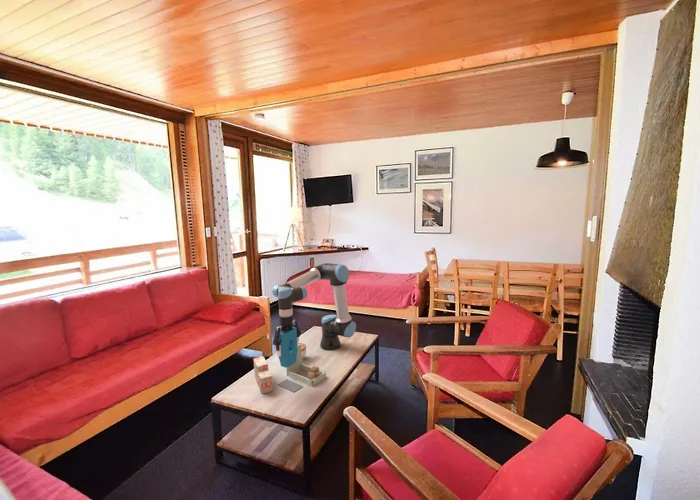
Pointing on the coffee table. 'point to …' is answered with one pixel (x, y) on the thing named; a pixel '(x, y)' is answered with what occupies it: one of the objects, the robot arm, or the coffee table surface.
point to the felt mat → (290, 385)
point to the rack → (299, 365)
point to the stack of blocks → (262, 375)
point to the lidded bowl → (303, 350)
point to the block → (288, 347)
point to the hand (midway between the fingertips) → (288, 351)
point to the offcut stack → (313, 372)
